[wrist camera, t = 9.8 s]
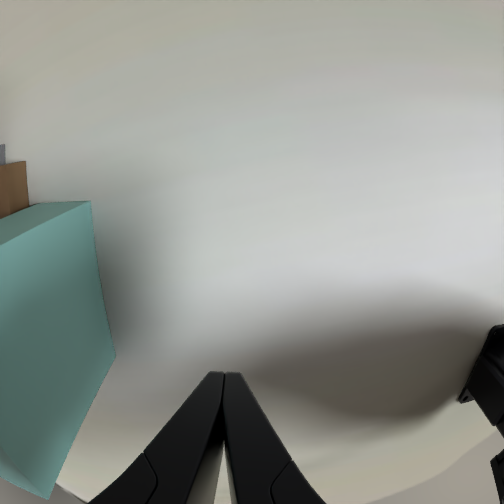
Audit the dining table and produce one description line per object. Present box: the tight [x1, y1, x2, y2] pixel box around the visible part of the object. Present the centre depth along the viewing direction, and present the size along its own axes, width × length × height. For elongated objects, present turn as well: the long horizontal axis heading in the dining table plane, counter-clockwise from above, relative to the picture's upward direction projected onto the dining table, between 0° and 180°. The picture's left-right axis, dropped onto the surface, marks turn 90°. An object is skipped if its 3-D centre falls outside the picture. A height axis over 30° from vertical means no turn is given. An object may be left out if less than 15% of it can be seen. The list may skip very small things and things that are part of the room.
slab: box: [0, 201, 116, 500], centre depth 9 cm, size 3×8×9 cm, turn 178°
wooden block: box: [0, 161, 29, 219], centre depth 12 cm, size 2×12×2 cm, turn 179°
